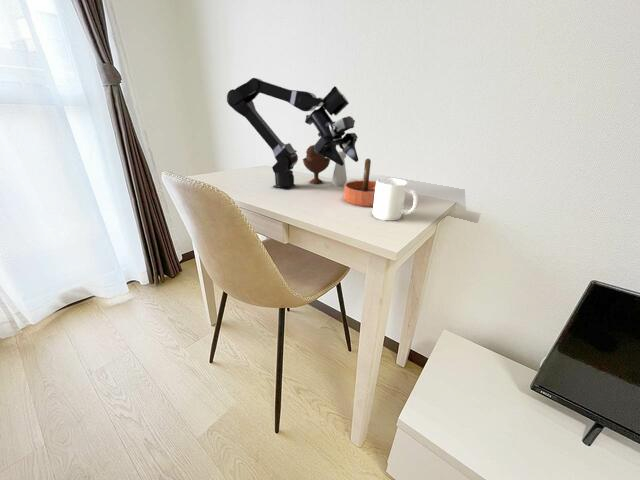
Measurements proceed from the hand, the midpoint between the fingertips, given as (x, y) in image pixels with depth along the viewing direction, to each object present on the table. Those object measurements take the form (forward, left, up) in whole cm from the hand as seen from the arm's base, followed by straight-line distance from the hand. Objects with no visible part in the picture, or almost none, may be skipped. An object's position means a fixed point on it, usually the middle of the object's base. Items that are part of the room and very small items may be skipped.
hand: (350, 163), depth 87 cm
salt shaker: (-9, +13, -12) cm, 19 cm away
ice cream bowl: (-19, +12, -12) cm, 25 cm away
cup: (+18, -12, -12) cm, 25 cm away
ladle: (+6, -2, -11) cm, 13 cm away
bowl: (+6, -1, -12) cm, 13 cm away
